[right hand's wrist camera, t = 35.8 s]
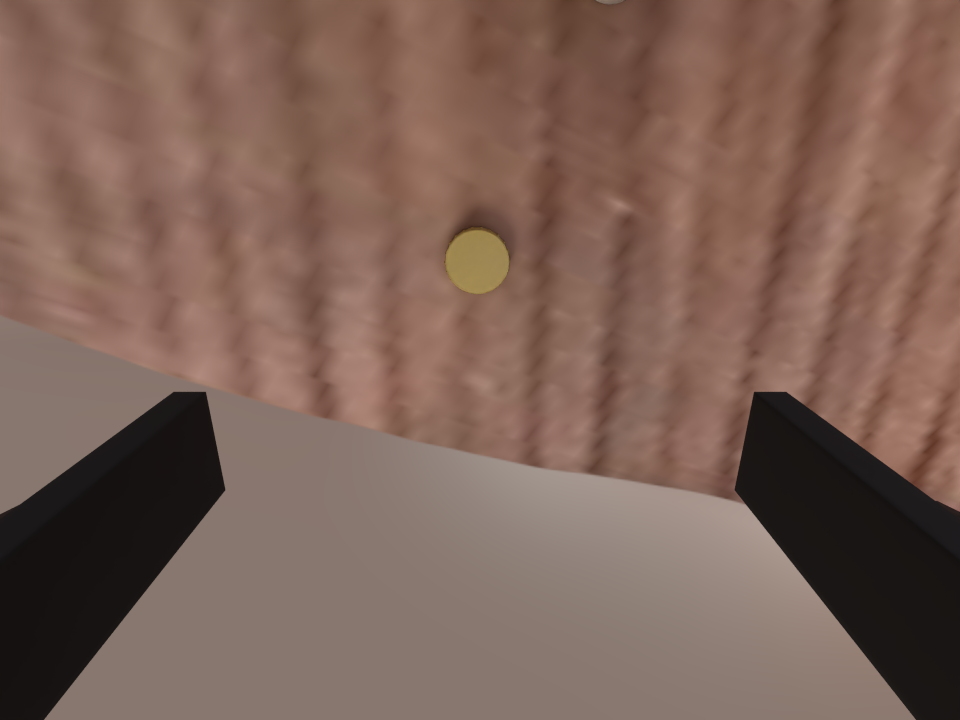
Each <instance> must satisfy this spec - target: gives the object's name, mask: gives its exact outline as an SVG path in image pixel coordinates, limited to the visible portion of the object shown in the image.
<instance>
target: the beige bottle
mask: <svg viewBox="0 0 960 720" xmlns="http://www.w3.org/2000/svg"><path fill="white" fill-rule="evenodd" d="M596 1H598V2H600V3H603V4H617V3H620V2H623V1H625V0H596Z"/></svg>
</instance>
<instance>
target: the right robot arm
mask: <svg viewBox="0 0 960 720" xmlns="http://www.w3.org/2000/svg"><path fill="white" fill-rule="evenodd" d="M224 491H225V486H224V481H223V476H222V471H221V466H220V461H219V456H218V451H217V446H216V441H215V436H214V431H213V425H212V421H211V415H210V410H209V406H208V400H207V396H206V392H173V393H172V394H170V395H169V396H168V397H166V398H165V399H163V400H162V401H161V402H159V403H158V404H157V405H155V406H154V407H153V408H151V409H150V410H148V411H147V412H146V413H144V414H143V415H142V416H140V417H139V418H138V419H136V420H135V421H134V422H132V423H131V424H129V425H128V426H127V427H125V428H124V429H123V430H121V431H120V432H118V433H117V434H116V435H114V436H113V437H112V438H110V439H109V440H107V441H106V442H105V443H103V444H102V445H101V446H99V447H98V448H97V449H95V450H94V451H93V452H91V453H90V454H88V455H87V456H86V457H84V458H83V459H82V460H80V461H79V462H77V463H76V464H75V465H73V466H72V467H71V468H69V469H68V470H67V471H65V472H64V473H62V474H61V475H60V476H58V477H57V478H56V479H54V480H53V481H52V482H50V483H49V484H47V485H46V486H45V487H43V488H42V489H41V490H39V491H38V492H36V493H35V494H34V495H32V496H31V497H30V498H28V499H27V500H26V501H24V502H23V503H22V504H20V505H18V506H16V507H14V508H12V509H10V510H8V511H6V512H4V513H2V514H0V720H44V719H45V718H46V716H47V715H48V714H49V713H50V711H51V710H52V709H53V708H54V706H55V705H56V704H57V702H58V701H59V700H60V699H61V697H62V696H63V695H64V694H65V692H66V691H67V690H68V688H69V687H70V686H71V685H72V683H73V682H74V681H75V680H76V678H77V677H78V676H79V675H80V673H81V672H82V671H83V670H84V668H85V667H86V666H87V664H88V663H89V662H90V661H91V659H92V658H93V657H94V656H95V654H96V653H97V652H98V650H99V649H100V648H101V647H102V645H103V644H104V643H105V642H106V640H107V639H108V638H109V637H110V635H111V634H112V633H113V632H114V630H115V629H116V628H117V627H118V625H119V624H120V623H121V621H122V620H123V619H124V618H125V616H126V615H127V614H128V613H129V611H130V610H131V609H132V608H133V606H134V605H135V604H136V602H137V601H138V600H139V599H140V597H141V596H142V595H143V594H144V592H145V591H146V590H147V589H148V587H149V586H150V585H151V583H152V582H153V581H154V580H155V578H156V577H157V576H158V575H159V573H160V572H161V571H162V570H163V568H164V567H165V566H166V564H167V563H168V562H169V561H170V559H171V558H172V557H173V556H174V554H175V553H176V552H177V550H178V549H179V548H180V547H181V546H182V544H183V543H184V542H185V540H186V539H187V538H188V537H189V535H190V534H191V533H192V532H193V530H194V529H195V528H196V526H197V525H198V524H199V523H200V521H201V520H202V519H203V518H204V516H205V515H206V514H207V513H208V511H209V510H210V509H211V508H212V506H213V505H214V504H215V502H216V501H217V500H218V499H219V497H220V496H221V495H222V494H223V492H224ZM735 491H736V492H737V494H738V495H739V496H740V497H741V499H742V500H743V501H744V502H745V504H746V505H747V506H748V508H749V509H750V510H751V511H752V513H753V514H754V515H755V516H756V517H757V519H758V520H759V521H760V523H761V524H762V525H763V526H764V528H765V529H766V530H767V532H768V533H769V534H770V535H771V537H772V538H773V539H774V540H775V542H776V543H777V544H778V545H779V547H780V548H781V549H782V551H783V552H784V553H785V554H786V556H787V557H788V558H789V559H790V561H791V562H792V563H793V564H794V566H795V567H796V568H797V570H798V571H799V572H800V573H801V575H802V576H803V577H804V578H805V580H806V581H807V582H808V583H809V585H810V586H811V587H812V589H813V590H814V591H815V592H816V594H817V595H818V596H819V597H820V599H821V600H822V601H823V602H824V604H825V605H826V606H827V608H828V609H829V610H830V611H831V613H832V614H833V615H834V616H835V618H836V619H837V620H838V621H839V623H840V624H841V625H842V626H843V628H844V629H845V630H846V632H847V633H848V634H849V635H850V637H851V638H852V639H853V640H854V642H855V643H856V644H857V645H858V647H859V648H860V649H861V650H862V652H863V653H864V654H865V656H866V657H867V658H868V659H869V661H870V662H871V663H872V664H873V666H874V667H875V668H876V670H877V671H878V672H879V673H880V675H881V676H882V677H883V678H884V680H885V681H886V682H887V683H888V685H889V686H890V687H891V689H892V690H893V691H894V692H895V694H896V695H897V696H898V697H899V699H900V700H901V701H902V702H903V704H904V705H905V706H906V708H907V709H908V710H909V711H910V713H911V714H912V715H913V716H914V718H915V719H916V720H960V512H959V511H957V510H955V509H953V508H951V507H949V506H946V505H944V504H942V503H940V502H938V501H934V500H933V499H932V498H930V497H929V496H928V495H926V494H925V493H924V492H922V491H921V490H919V489H918V488H917V487H915V486H914V485H913V484H911V483H910V482H908V481H907V480H906V479H904V478H903V477H902V476H900V475H899V474H898V473H896V472H895V471H893V470H892V469H891V468H889V467H888V466H887V465H885V464H884V463H883V462H881V461H880V460H878V459H877V458H876V457H874V456H873V455H872V454H870V453H869V452H868V451H866V450H865V449H863V448H862V447H861V446H859V445H858V444H857V443H855V442H854V441H853V440H851V439H850V438H848V437H847V436H846V435H844V434H843V433H842V432H840V431H839V430H837V429H836V428H835V427H833V426H832V425H831V424H829V423H828V422H827V421H825V420H824V419H822V418H821V417H820V416H818V415H817V414H816V413H814V412H813V411H812V410H810V409H809V408H807V407H806V406H805V405H803V404H802V403H801V402H799V401H798V400H797V399H795V398H794V397H792V396H791V395H790V394H788V393H787V392H754V395H753V400H752V405H751V410H750V415H749V420H748V425H747V430H746V435H745V441H744V446H743V451H742V456H741V461H740V466H739V471H738V476H737V481H736V486H735Z"/></svg>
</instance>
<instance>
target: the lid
mask: <svg viewBox="0 0 960 720" xmlns="http://www.w3.org/2000/svg"><path fill="white" fill-rule="evenodd" d="M508 252H509V251H508V249H506V246H505V242H504V240H503V241H502V239H501V238H500V237H499V234H496V233H494V232H493V231H491V229H489V230H488V229H485V228H482V227H480V228H479V227H476V228H473V227H471V228H469V229H466V230H464V229H463V230H462V232H461V233H459V234H458V235H455V238H454V239H453V240H452V242H450V243H449V248H448V250H446V253H445V254H446V259H445V264H446V272H447V273H448V276H449V278H450V280H451V281H452V282H453V283H454V284H455V285H456V286H457V287H458V288H460V289H461V290H463V291H465V292H468V293H472V294H482V293H487V292H489V291H492V290H493V289H495V288H496V287H498V286H499V285H500V284H501V283H502V282H503V280H504V279H505V277H506V275H507V272H508V271H509V262H510V259H509V255H508Z"/></svg>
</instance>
